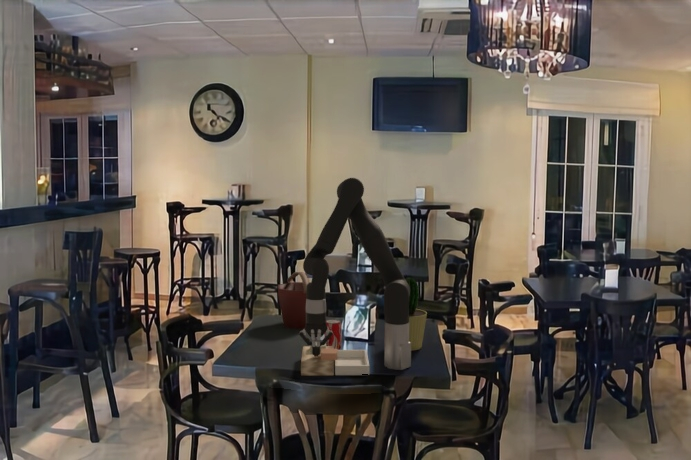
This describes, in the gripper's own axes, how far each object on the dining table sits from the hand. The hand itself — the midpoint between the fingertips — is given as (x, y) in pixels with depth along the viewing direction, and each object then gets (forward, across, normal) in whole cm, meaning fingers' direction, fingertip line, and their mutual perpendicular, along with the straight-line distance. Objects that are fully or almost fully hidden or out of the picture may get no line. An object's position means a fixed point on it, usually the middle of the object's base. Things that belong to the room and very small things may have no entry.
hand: (316, 355), depth 238 cm
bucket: (+6, +8, -68) cm, 69 cm away
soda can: (+6, -6, -27) cm, 28 cm away
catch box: (+6, -13, -4) cm, 15 cm away
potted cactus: (+6, -38, -30) cm, 49 cm away
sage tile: (+1, -1, -9) cm, 9 cm away
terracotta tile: (+1, -5, 0) cm, 5 cm away
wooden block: (+6, -1, -4) cm, 7 cm away
